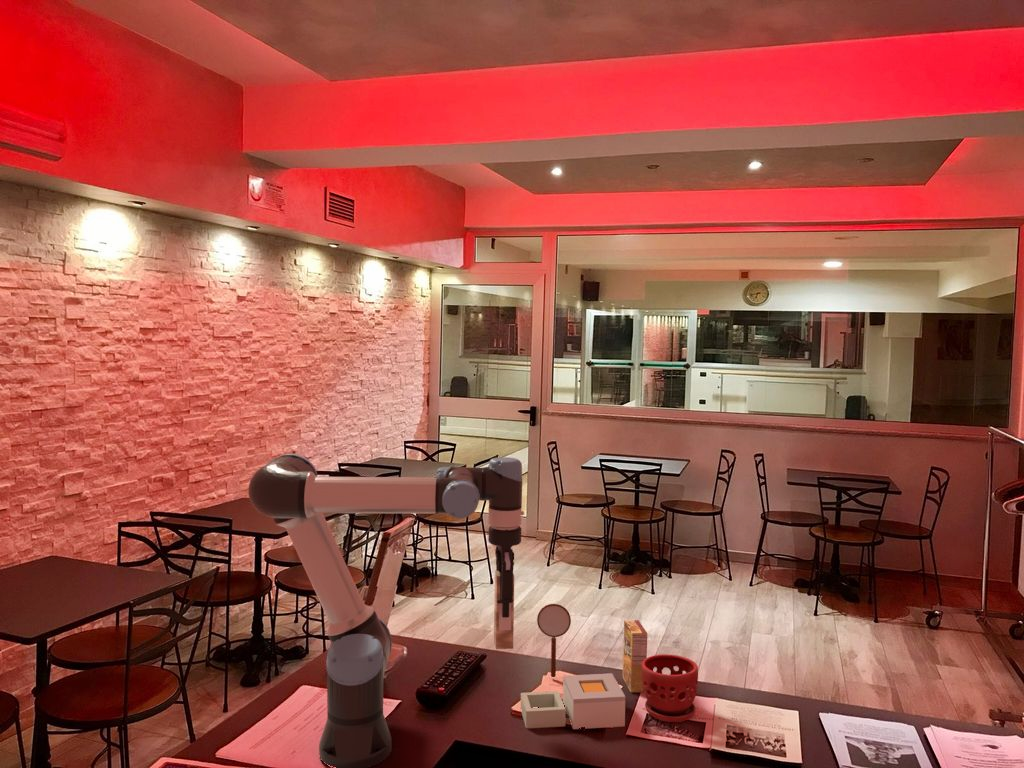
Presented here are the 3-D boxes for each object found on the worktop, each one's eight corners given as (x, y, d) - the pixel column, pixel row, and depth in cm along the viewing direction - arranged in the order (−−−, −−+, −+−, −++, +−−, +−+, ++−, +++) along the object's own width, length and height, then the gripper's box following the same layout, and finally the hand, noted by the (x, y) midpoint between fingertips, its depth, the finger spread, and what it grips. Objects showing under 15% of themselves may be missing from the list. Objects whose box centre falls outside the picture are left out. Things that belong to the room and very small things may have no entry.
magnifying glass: (570, 679, 202) (571, 603, 200) (569, 682, 200) (571, 605, 199) (536, 677, 202) (537, 602, 201) (536, 680, 201) (537, 604, 199)
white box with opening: (573, 729, 177) (573, 699, 176) (562, 703, 188) (563, 675, 188) (624, 726, 178) (625, 696, 178) (611, 701, 190) (611, 673, 189)
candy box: (621, 677, 203) (622, 619, 202) (637, 676, 203) (639, 619, 202) (630, 693, 194) (631, 633, 193) (646, 692, 195) (648, 632, 194)
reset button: (585, 705, 180) (585, 693, 180) (580, 695, 185) (580, 683, 185) (606, 704, 181) (606, 692, 181) (601, 694, 186) (601, 682, 186)
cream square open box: (526, 728, 177) (526, 711, 176) (520, 709, 186) (520, 692, 185) (565, 726, 178) (565, 709, 178) (557, 707, 187) (558, 690, 186)
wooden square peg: (495, 649, 178) (496, 576, 177) (493, 642, 182) (494, 570, 181) (513, 648, 179) (514, 575, 177) (511, 641, 183) (512, 570, 181)
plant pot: (701, 706, 188) (703, 658, 187) (690, 732, 176) (691, 680, 175) (648, 695, 193) (649, 648, 192) (633, 719, 181) (634, 669, 180)
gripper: (526, 535, 170) (525, 639, 172) (516, 516, 187) (514, 611, 189) (492, 536, 169) (491, 641, 171) (485, 517, 186) (483, 612, 188)
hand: (503, 625), depth 180 cm, fingers closed on wooden square peg, 4 cm apart
